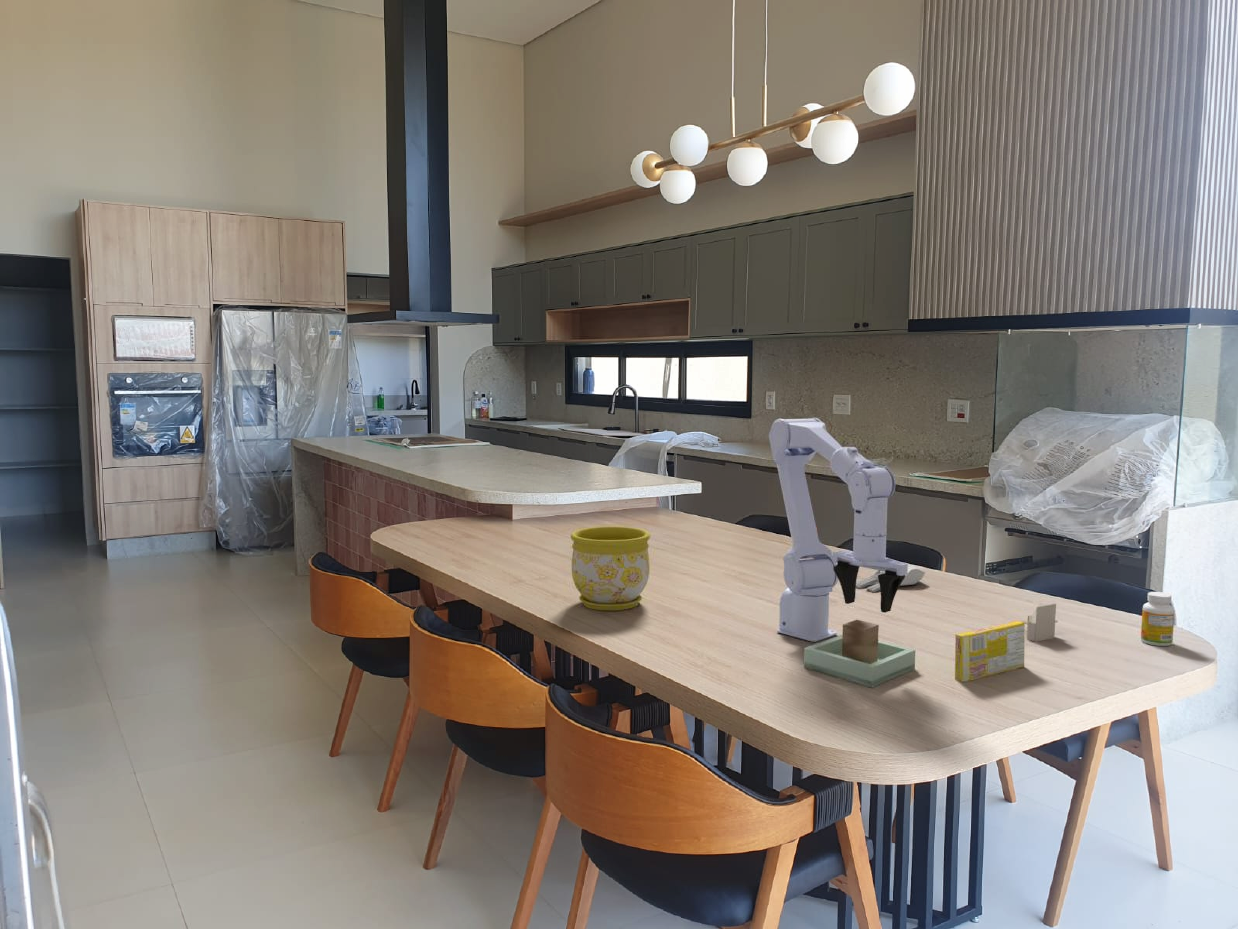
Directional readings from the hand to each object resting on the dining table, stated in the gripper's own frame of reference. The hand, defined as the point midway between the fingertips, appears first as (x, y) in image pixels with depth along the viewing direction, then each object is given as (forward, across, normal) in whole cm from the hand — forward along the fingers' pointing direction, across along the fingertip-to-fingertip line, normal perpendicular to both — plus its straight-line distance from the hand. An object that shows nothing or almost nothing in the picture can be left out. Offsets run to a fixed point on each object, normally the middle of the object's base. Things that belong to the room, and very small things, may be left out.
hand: (867, 607), depth 164 cm
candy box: (+11, +18, +11) cm, 24 cm away
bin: (+10, +1, -4) cm, 11 cm away
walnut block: (+9, +1, -4) cm, 10 cm away
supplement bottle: (+10, +31, +53) cm, 62 cm away
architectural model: (+11, +15, +38) cm, 43 cm away
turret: (+11, -29, +55) cm, 63 cm away
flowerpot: (+11, -62, -9) cm, 63 cm away
